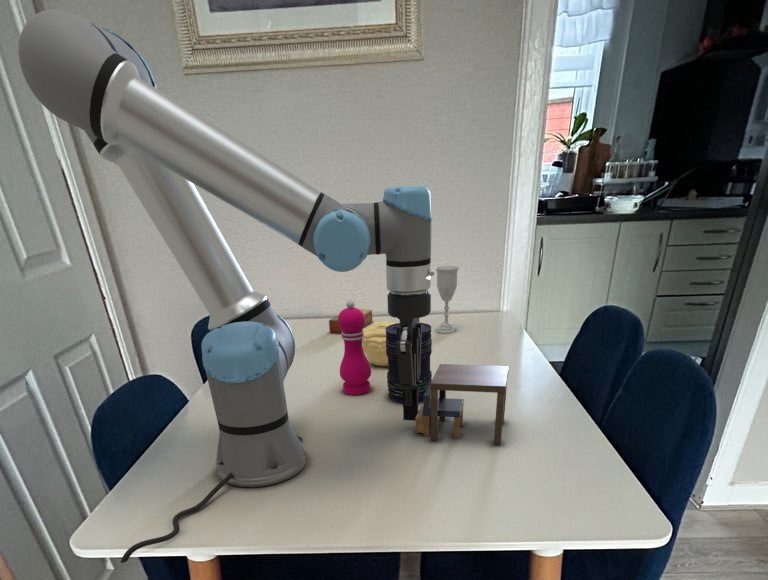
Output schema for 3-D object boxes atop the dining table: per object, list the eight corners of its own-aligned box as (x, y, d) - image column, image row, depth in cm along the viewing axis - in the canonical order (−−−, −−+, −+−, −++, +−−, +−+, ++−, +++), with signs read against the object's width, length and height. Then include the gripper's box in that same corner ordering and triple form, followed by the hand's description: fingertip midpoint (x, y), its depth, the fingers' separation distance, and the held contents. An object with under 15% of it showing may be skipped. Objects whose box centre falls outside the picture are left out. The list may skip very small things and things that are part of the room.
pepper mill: (368, 396, 122) (362, 303, 111) (337, 395, 123) (328, 304, 112) (375, 385, 128) (370, 296, 117) (345, 384, 129) (338, 296, 118)
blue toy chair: (415, 435, 103) (414, 395, 99) (421, 421, 108) (421, 383, 104) (459, 437, 101) (460, 397, 97) (463, 424, 107) (464, 384, 102)
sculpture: (359, 369, 138) (356, 326, 132) (371, 355, 148) (369, 314, 142) (402, 370, 136) (401, 327, 130) (412, 356, 145) (411, 315, 140)
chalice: (431, 329, 168) (431, 267, 159) (451, 326, 170) (452, 264, 160) (440, 335, 162) (441, 270, 153) (461, 332, 164) (463, 268, 154)
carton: (373, 322, 180) (372, 308, 177) (353, 334, 167) (352, 320, 165) (350, 320, 182) (349, 307, 180) (329, 333, 170) (327, 319, 168)
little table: (500, 445, 98) (505, 386, 92) (430, 441, 101) (430, 383, 95) (504, 421, 107) (508, 366, 101) (439, 418, 110) (439, 363, 103)
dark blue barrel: (435, 389, 123) (436, 322, 115) (427, 405, 116) (426, 334, 107) (394, 387, 126) (391, 321, 118) (382, 402, 118) (379, 333, 110)
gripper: (423, 299, 86) (423, 434, 99) (436, 283, 97) (435, 407, 110) (378, 298, 88) (384, 431, 101) (396, 283, 98) (399, 405, 111)
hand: (410, 418), depth 105 cm, fingers closed
